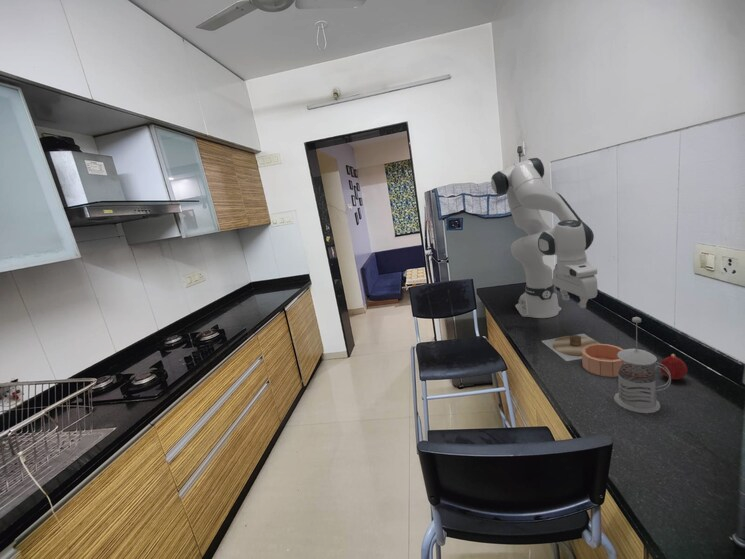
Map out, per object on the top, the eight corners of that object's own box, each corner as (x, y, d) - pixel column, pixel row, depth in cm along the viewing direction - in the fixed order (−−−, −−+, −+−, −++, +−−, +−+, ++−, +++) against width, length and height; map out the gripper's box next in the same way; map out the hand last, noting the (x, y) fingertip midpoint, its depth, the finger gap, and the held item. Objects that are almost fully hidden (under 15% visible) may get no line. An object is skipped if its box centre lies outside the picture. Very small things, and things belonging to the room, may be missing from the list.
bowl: (574, 361, 109) (573, 347, 108) (609, 355, 109) (609, 341, 107) (598, 380, 98) (598, 364, 96) (638, 373, 97) (638, 357, 96)
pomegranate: (692, 384, 88) (693, 358, 87) (668, 385, 90) (668, 360, 88) (677, 373, 94) (678, 349, 92) (654, 374, 95) (655, 350, 94)
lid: (544, 341, 125) (544, 332, 124) (582, 335, 125) (582, 326, 124) (567, 359, 111) (567, 349, 110) (610, 352, 110) (610, 342, 109)
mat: (541, 341, 126) (541, 340, 126) (583, 334, 126) (583, 333, 126) (566, 362, 110) (566, 361, 110) (615, 353, 109) (615, 352, 109)
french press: (614, 387, 93) (613, 309, 87) (668, 397, 86) (671, 311, 80) (612, 407, 86) (611, 322, 80) (671, 419, 78) (674, 327, 73)
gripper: (546, 263, 121) (549, 297, 124) (581, 274, 101) (583, 314, 104) (563, 260, 121) (565, 294, 124) (601, 270, 101) (602, 310, 104)
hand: (573, 303), depth 114 cm, fingers open, 8 cm apart
